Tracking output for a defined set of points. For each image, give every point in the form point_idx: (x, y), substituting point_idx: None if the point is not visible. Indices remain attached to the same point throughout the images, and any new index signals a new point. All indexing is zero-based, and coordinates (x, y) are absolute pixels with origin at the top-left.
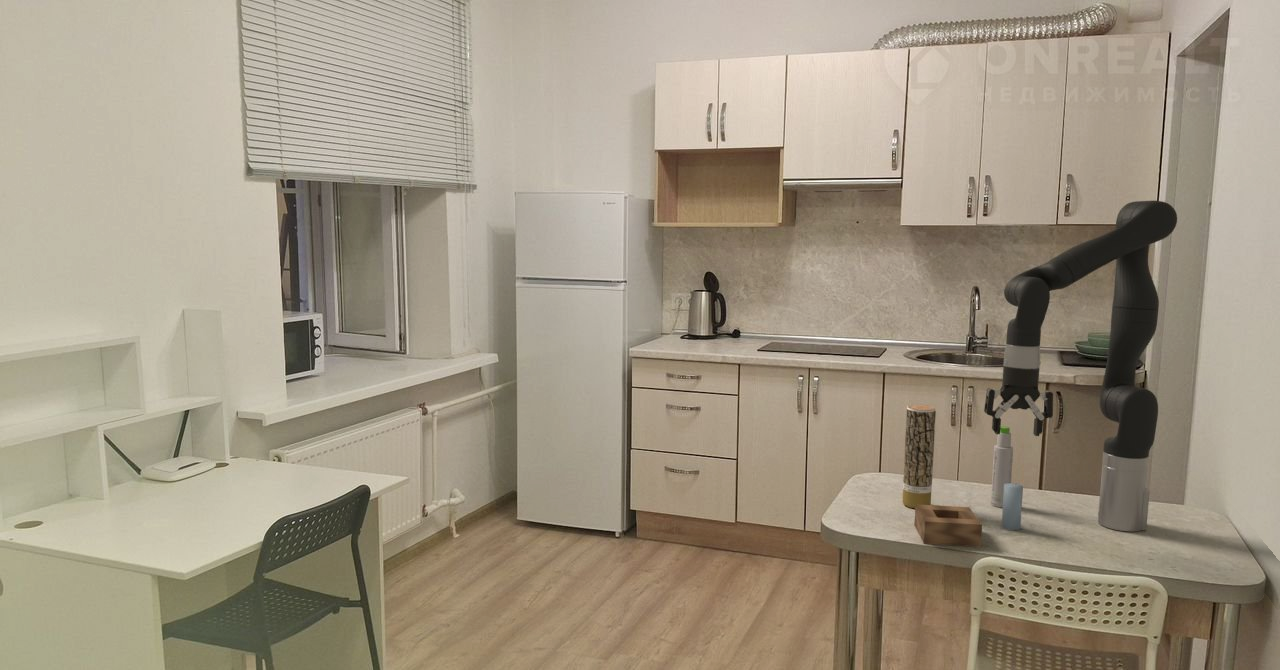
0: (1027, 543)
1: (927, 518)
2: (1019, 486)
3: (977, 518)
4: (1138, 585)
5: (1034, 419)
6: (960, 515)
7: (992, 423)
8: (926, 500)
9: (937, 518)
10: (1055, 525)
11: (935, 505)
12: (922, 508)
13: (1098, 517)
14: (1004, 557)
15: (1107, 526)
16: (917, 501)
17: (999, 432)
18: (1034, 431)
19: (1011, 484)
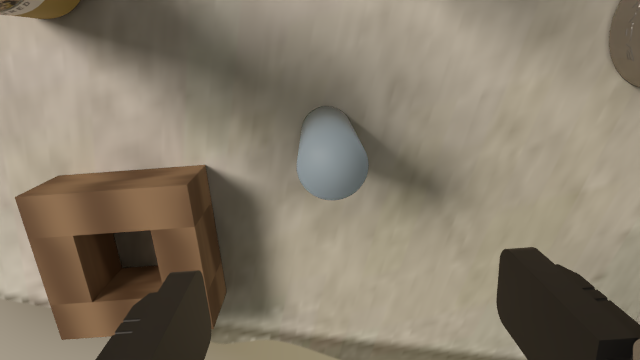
0: (343, 243)
1: (66, 316)
2: (354, 169)
3: (204, 284)
4: None
5: (589, 337)
6: (158, 262)
7: (112, 346)
8: (59, 7)
9: (93, 309)
10: (465, 76)
11: (79, 194)
12: (42, 233)
13: (624, 17)
14: (271, 339)
15: (617, 66)
16: (30, 17)
17: (203, 346)
18: (513, 285)
19: (328, 148)
